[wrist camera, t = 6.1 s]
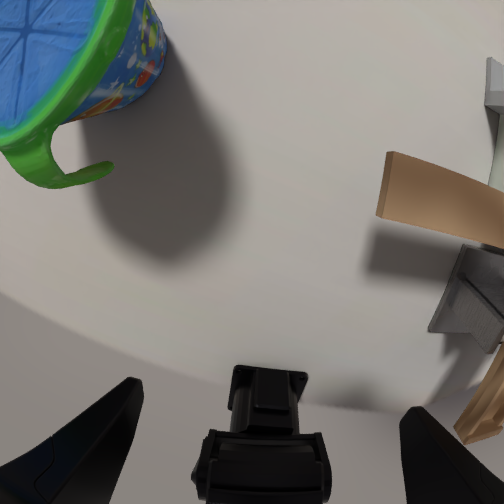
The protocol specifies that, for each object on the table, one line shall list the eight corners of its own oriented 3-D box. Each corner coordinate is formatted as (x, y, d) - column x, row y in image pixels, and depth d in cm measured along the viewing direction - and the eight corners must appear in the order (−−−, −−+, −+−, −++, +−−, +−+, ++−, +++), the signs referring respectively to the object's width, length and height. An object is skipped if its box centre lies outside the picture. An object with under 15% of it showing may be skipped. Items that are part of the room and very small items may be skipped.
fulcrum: (494, 329, 22) (527, 372, 16) (427, 327, 22) (461, 383, 16) (526, 261, 19) (569, 296, 13) (463, 243, 19) (516, 287, 13)
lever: (489, 414, 18) (502, 432, 15) (302, 434, 17) (306, 466, 15) (567, 229, 13) (590, 238, 10) (382, 152, 12) (410, 149, 10)
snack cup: (72, -11, 12) (-12, -47, 3) (202, -43, 12) (159, -129, 3) (59, 172, 18) (-43, 214, 9) (189, 166, 18) (113, 209, 9)
